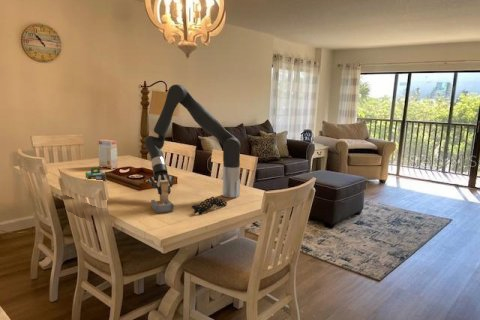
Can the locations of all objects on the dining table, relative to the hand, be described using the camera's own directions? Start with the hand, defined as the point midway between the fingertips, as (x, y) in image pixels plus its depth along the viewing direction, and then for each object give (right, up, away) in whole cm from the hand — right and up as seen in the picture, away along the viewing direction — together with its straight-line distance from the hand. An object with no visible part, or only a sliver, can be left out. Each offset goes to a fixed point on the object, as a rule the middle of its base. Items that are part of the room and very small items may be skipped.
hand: (164, 193), depth 184 cm
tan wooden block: (-1, -4, +2) cm, 5 cm away
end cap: (+1, -7, -11) cm, 12 cm away
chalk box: (-42, -1, +14) cm, 44 cm away
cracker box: (-60, +12, +82) cm, 103 cm away
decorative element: (+24, -8, -8) cm, 27 cm away
